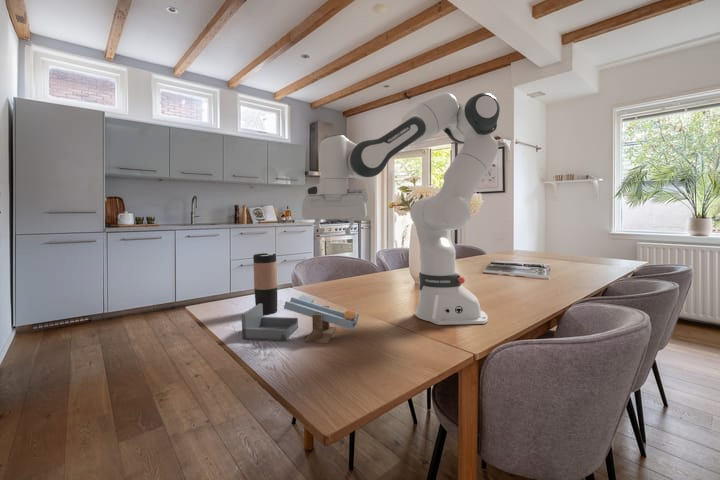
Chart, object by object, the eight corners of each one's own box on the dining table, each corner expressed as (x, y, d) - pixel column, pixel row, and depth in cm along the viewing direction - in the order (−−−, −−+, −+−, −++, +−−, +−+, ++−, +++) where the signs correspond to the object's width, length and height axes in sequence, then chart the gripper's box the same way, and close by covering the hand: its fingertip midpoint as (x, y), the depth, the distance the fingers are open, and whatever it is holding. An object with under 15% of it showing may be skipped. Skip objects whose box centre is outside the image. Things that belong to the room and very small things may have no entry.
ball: (355, 320, 96) (357, 309, 96) (353, 324, 93) (355, 312, 93) (344, 318, 97) (346, 307, 97) (342, 321, 94) (343, 310, 93)
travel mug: (257, 316, 115) (255, 256, 113) (253, 310, 122) (251, 254, 120) (280, 313, 119) (278, 254, 117) (275, 307, 125) (273, 252, 124)
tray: (298, 327, 103) (297, 304, 103) (284, 341, 93) (283, 315, 92) (260, 326, 105) (259, 303, 105) (242, 339, 94) (241, 314, 94)
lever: (360, 316, 104) (362, 307, 104) (353, 330, 92) (356, 320, 92) (298, 297, 107) (300, 288, 107) (283, 308, 95) (286, 298, 95)
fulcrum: (336, 329, 101) (335, 305, 101) (327, 343, 91) (326, 316, 90) (316, 328, 102) (315, 304, 102) (305, 342, 92) (304, 315, 91)
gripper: (368, 189, 108) (369, 233, 110) (305, 190, 112) (306, 233, 113) (365, 188, 102) (366, 234, 103) (299, 189, 106) (300, 234, 107)
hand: (334, 234), depth 108 cm, fingers open, 7 cm apart
